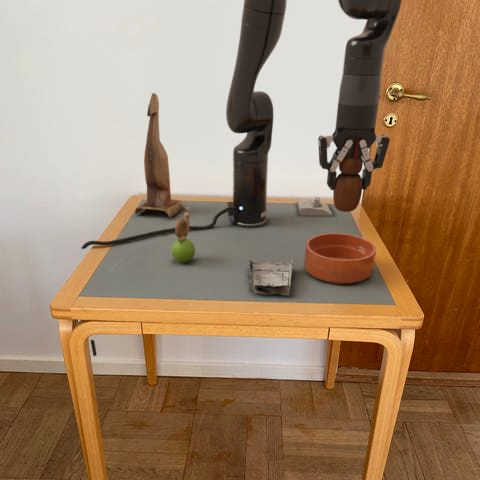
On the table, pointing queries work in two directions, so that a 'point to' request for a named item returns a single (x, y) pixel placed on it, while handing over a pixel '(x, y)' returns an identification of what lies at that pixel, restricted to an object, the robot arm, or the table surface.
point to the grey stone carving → (313, 207)
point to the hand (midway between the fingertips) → (347, 188)
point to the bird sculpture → (157, 167)
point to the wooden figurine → (349, 182)
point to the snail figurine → (183, 240)
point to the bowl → (339, 258)
